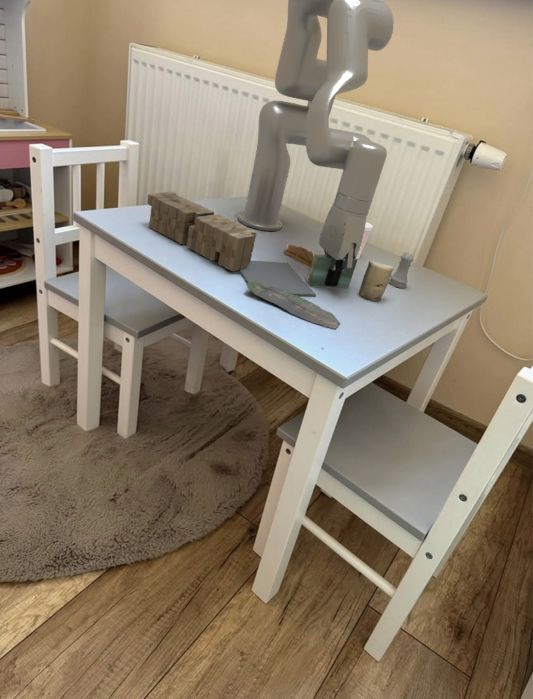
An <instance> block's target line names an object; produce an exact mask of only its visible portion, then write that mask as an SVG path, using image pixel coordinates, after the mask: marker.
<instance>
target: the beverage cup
mask: <svg viewBox="0 0 533 699" xmlns="http://www.w3.org/2000/svg"><path fill="white" fill-rule="evenodd" d="M373 228H374V226H373V224H371V223H369V222H367V221H366V225H365V230H364V234H363V238H362V242H361V246H360V249H359V252H358V255H357V257H356V259H357V260H358V259H360V257H361V254H362V253H363V250H364V247H365V245H366V242H367V241H368V238H369V235H370V232H371V231H373V230H372V229H373Z"/></svg>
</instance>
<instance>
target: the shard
mask: <svg viewBox="0 0 533 699" xmlns="http://www.w3.org/2000/svg"><path fill="white" fill-rule="evenodd" d="M283 255H285V256H288V257H290V258H292V259H294V260H295V261H296V262H299V263H300V264H302V265H303V266H305V267H307V268H309V269H311V265H312V262H313V258H314V253H313V251H312V250H310V249H308V248H306V247H302V246H297V245H293V244H287V247H286V248H285V249H284V250H283Z"/></svg>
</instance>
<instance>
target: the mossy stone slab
mask: <svg viewBox="0 0 533 699" xmlns="http://www.w3.org/2000/svg"><path fill="white" fill-rule="evenodd" d="M245 285H246V288H247V289H248V290H249V291H251V292H252V293H253V292H254V293H253V295H254V296H257V297H260V298H262V299H263V300H265V301H268V302H270V303H271V304H272V303H273V304H274V305H277V306H278V307H280V308H282V310H285V311H286V312H288V313H290V314H291V315H294V316H296V317H298V318H301V319H303V320H306V321H307V322H311V323H313V324H317V325H321V326H323V327H325V328H326V327H327V328H330V329H332V330H335V329H337V327H338V326H340V325H341V323H340V321H339V320H338V318H337V317H336V316H335V315H334V314H333V313H332V312H330V311H327V310H325V309H323V308H322V307H321V306H319V305H317V304H315V303H314V302H312V301H310V300H307V299H305V298H304V297H301V296H297V295H294V294H292V293H291V292H288V291H287V290H283V289H281V288H277V287H264V286H263V285H262V284H260V283H257V282H255V281H250V282H249V283H245Z"/></svg>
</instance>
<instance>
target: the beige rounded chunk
mask: <svg viewBox="0 0 533 699" xmlns="http://www.w3.org/2000/svg"><path fill="white" fill-rule="evenodd" d="M393 271H394V267H393V266H392V265H389V264H385V263H381V262H378V261H377V262H376V261H374V260H373V261H372V260H369V261H368V265H367V267H366V270H365V273H364V275H363V277H362V281H361V284H360V288H359V290H358V291H359V293H358V294H359V296H361V297H363V298H366V299H367V300H369V301H374V302H375V301H381V299H382V297H383V295H384V293H385V292H386V289H387V287H388V285H389V284H390V282H389V280H390V279H391V276H392V273H393Z"/></svg>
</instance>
